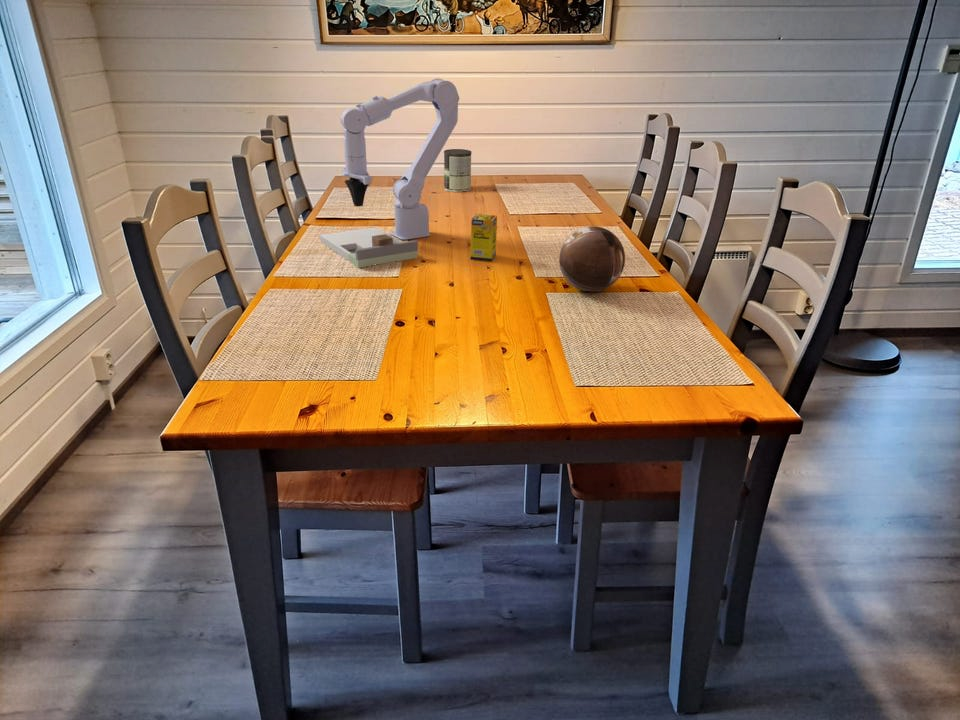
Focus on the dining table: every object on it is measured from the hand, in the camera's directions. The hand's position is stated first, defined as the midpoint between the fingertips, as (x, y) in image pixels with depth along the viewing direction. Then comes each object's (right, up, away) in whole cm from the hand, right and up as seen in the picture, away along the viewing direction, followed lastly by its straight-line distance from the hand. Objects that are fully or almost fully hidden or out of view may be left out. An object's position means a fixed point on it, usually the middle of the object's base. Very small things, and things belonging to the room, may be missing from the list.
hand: (358, 205), depth 184 cm
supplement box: (+35, -16, -9) cm, 39 cm away
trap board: (+3, -13, -5) cm, 15 cm away
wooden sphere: (+60, -27, -29) cm, 72 cm away
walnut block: (+9, -15, -13) cm, 22 cm away
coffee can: (+26, +22, +66) cm, 74 cm away
